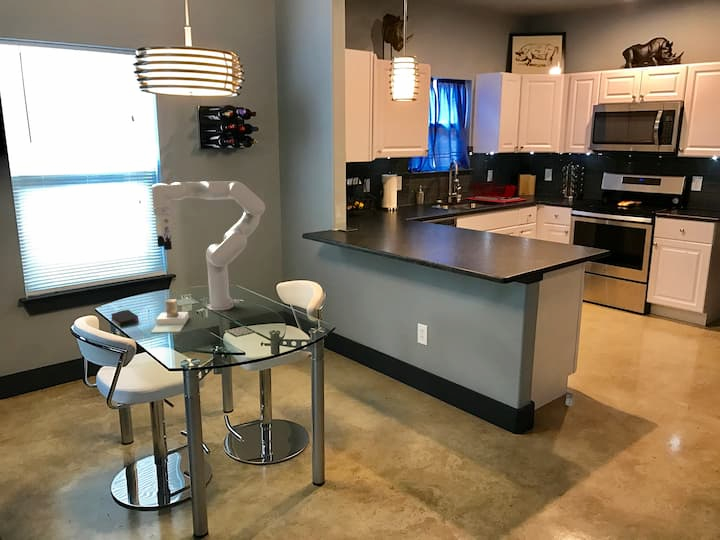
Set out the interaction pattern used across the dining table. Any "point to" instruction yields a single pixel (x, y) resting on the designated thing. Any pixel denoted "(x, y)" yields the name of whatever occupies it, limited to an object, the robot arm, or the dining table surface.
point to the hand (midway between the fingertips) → (164, 247)
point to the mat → (167, 328)
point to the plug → (171, 308)
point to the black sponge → (125, 318)
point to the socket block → (172, 319)
